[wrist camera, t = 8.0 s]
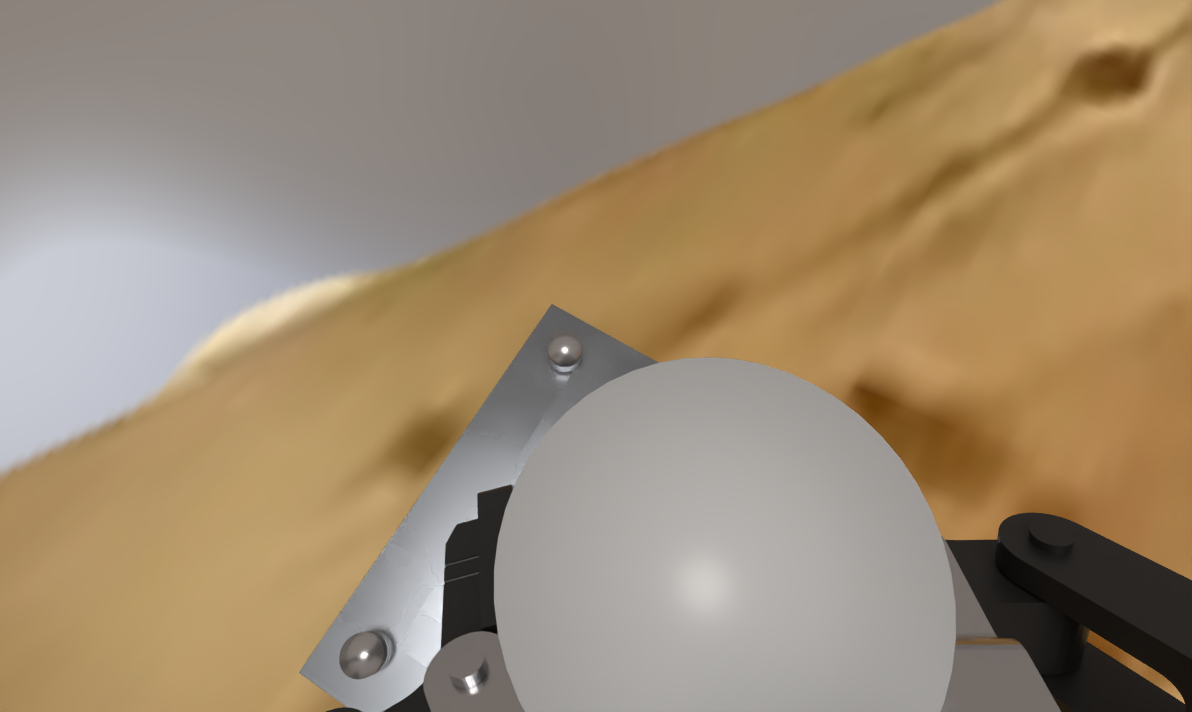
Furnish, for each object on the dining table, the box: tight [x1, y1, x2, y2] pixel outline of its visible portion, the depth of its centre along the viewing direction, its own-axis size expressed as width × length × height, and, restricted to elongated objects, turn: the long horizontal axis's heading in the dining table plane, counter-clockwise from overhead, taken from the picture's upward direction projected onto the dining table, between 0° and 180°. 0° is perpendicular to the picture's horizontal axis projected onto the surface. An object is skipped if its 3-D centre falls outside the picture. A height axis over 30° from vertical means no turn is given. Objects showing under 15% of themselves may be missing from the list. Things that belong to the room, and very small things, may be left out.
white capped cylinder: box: [494, 357, 956, 712], centre depth 11 cm, size 5×5×11 cm
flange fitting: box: [299, 304, 658, 712], centre depth 18 cm, size 14×14×4 cm
